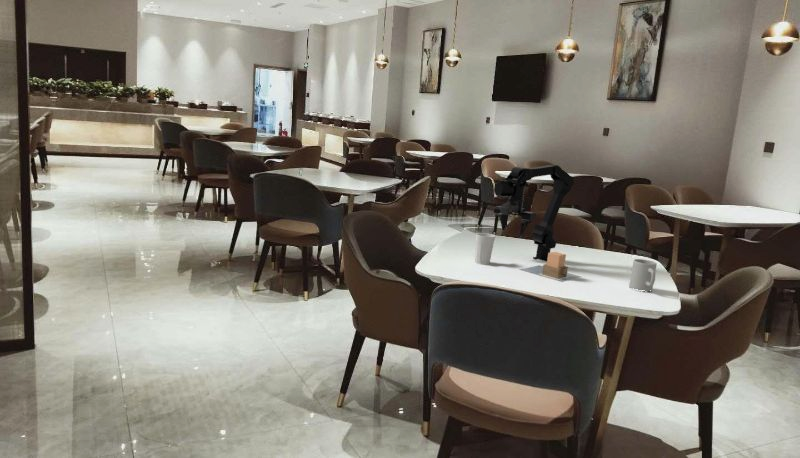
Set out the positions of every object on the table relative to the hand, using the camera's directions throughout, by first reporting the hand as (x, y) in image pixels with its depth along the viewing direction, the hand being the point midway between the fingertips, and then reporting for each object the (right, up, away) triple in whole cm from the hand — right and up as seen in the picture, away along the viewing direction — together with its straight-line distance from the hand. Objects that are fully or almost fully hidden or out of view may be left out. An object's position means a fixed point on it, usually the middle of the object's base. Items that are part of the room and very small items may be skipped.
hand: (512, 232), depth 262 cm
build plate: (+12, -17, -16) cm, 26 cm away
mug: (+45, -22, -27) cm, 58 cm away
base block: (+13, -17, -20) cm, 29 cm away
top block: (+13, -13, -20) cm, 28 cm away
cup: (-14, -13, -6) cm, 20 cm away
